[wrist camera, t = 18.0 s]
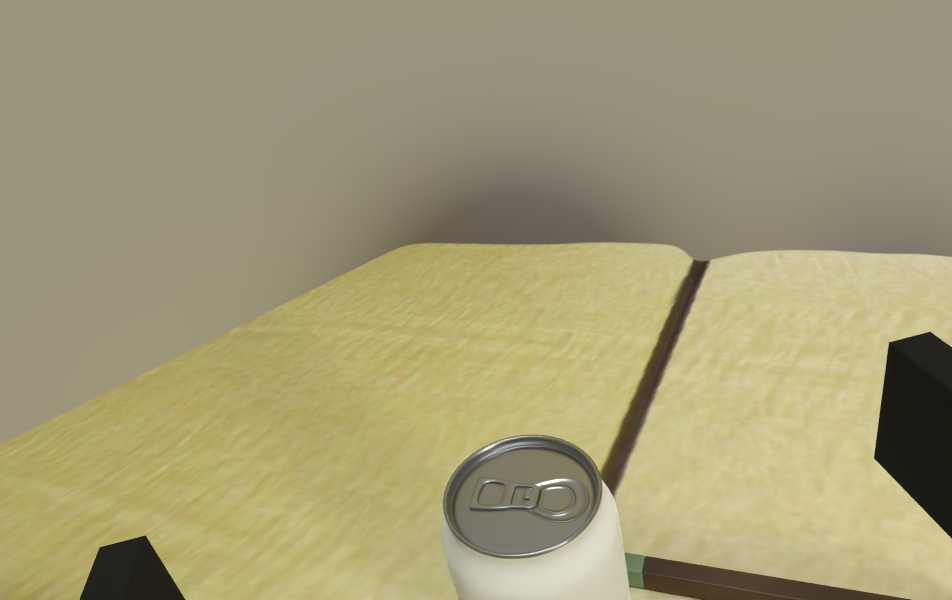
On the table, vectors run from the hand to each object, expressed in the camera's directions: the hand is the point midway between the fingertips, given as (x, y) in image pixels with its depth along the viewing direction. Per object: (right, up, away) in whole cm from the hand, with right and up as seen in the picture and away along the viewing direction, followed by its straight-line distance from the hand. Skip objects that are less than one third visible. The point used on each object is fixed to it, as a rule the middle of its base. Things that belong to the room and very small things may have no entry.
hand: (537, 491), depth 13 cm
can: (+3, -13, +18) cm, 23 cm away
